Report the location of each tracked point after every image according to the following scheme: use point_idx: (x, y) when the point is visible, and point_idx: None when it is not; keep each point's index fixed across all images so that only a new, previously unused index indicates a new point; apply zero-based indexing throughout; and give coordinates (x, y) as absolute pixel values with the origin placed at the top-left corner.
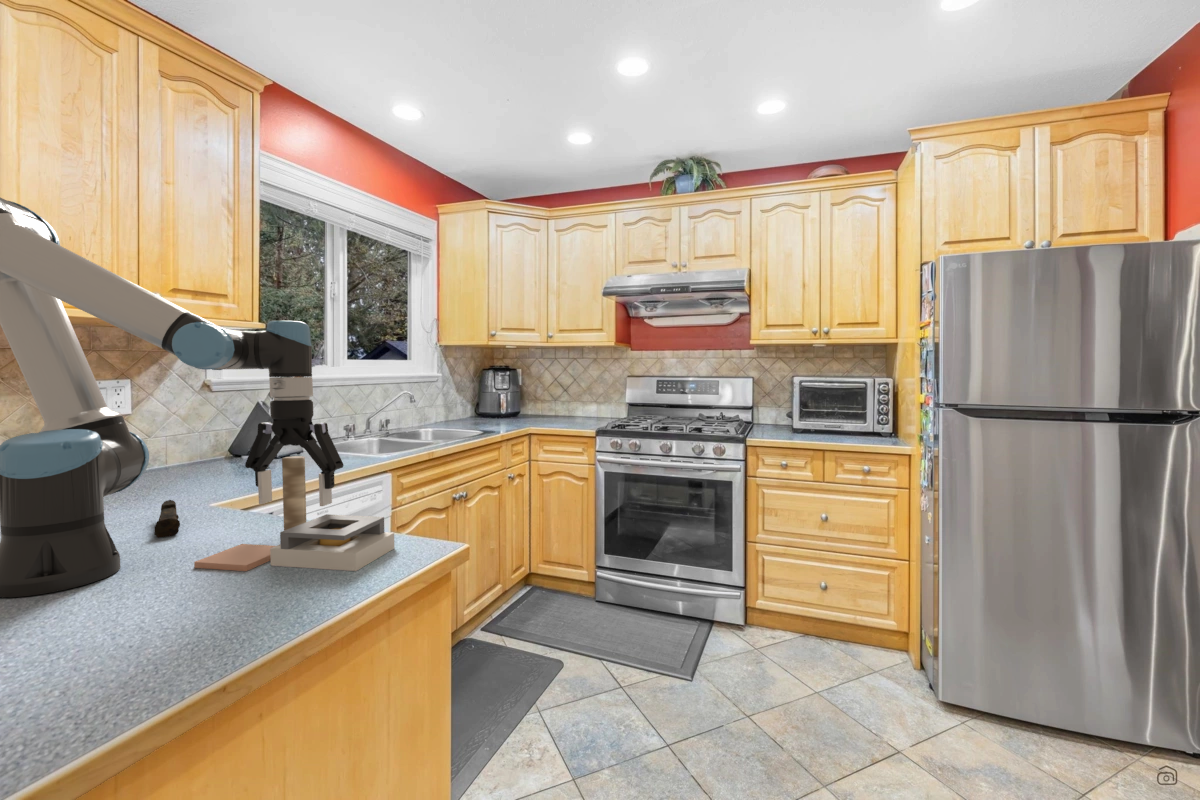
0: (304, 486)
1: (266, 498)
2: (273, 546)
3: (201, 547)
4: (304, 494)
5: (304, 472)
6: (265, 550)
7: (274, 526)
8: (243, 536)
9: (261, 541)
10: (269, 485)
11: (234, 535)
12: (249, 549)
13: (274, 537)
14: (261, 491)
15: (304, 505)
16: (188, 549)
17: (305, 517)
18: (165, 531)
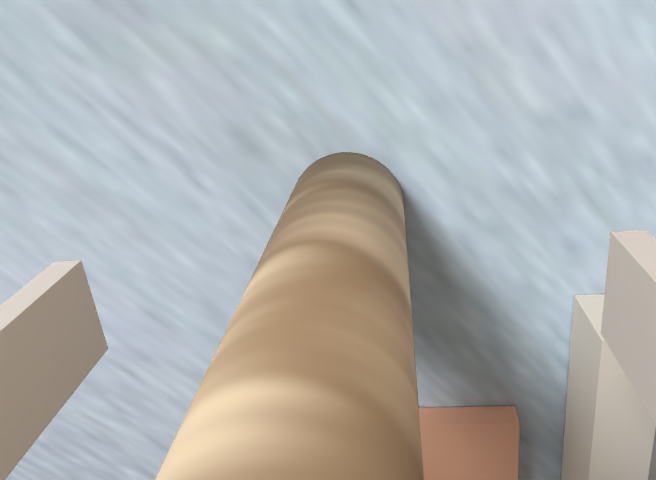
0: (413, 363)
1: (80, 329)
2: (442, 432)
3: (89, 418)
4: (411, 321)
5: (414, 468)
6: (451, 476)
7: (53, 69)
8: (91, 266)
9: None
10: (8, 356)
11: (33, 263)
12: None
13: (255, 247)
14: (55, 410)
15: (408, 278)
16: (70, 443)
17: (403, 229)
18: None
